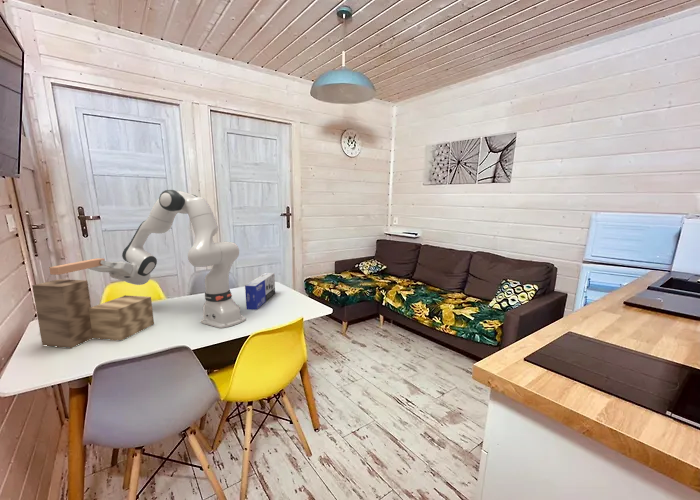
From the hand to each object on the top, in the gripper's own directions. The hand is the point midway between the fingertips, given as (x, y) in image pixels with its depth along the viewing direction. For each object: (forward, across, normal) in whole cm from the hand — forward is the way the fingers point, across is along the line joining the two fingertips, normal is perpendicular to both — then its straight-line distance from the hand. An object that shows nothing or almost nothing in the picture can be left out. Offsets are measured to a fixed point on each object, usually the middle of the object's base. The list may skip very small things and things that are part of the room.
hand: (95, 261), depth 138 cm
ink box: (-58, +58, +4) cm, 82 cm away
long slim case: (+5, 0, +5) cm, 7 cm away
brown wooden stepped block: (-10, +7, +31) cm, 33 cm away
